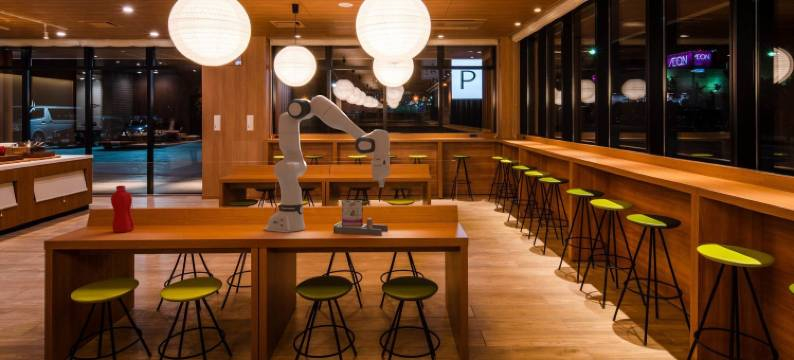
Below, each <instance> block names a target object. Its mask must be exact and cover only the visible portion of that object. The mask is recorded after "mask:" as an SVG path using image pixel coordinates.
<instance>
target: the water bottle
mask: <svg viewBox="0 0 794 360" xmlns="http://www.w3.org/2000/svg"><path fill="white" fill-rule="evenodd" d="M115 189H116V191H114V193H112V194H111V196H110V203H111V204H110V205H111V207H112V209H113V217H112V218H113V219H112V231H113V232H114V233H128V232H132V231H134V229H135V223H134V219H133V217H132V214H131V210H132V209H133V197H132V194H131V193H130V192H129V191H127V190H126V186H125V185H117V186H116V187H115Z"/></svg>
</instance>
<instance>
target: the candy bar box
mask: <svg viewBox="0 0 794 360" xmlns="http://www.w3.org/2000/svg"><path fill="white" fill-rule="evenodd" d="M363 208H364V201H363V200H341V221H342V227H343V226H352V227H362V226H363V224H364V223H363V222H364V221H363V220H364V217H363V216H364V215H363V214H364V211H363V210H364V209H363Z"/></svg>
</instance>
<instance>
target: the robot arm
mask: <svg viewBox="0 0 794 360" xmlns="http://www.w3.org/2000/svg"><path fill="white" fill-rule="evenodd" d="M286 108H287V109H286V112H283V113H281V114H280V115H279V119H278V146H279V149H280V151H281V152H282V155H283V159H280V160H279V161H277V163H276V164H274V167H273V173H274V175H275V176H276V178H277V180H278V183H279V187H280V195H281V199H280V200H281V202H280V204H279V205H277V209H278V211H276V212H275V213H274V214H273V215H271V217H269V218H268V223H267V225H266V226H265V227H263V230H264V231H267V232H268V231H270V232H277V233H279V232H280V233H290V232H300V231H304V230H306V225H305V219H304V204H303V195H302V193H303V191H302V188H301V186H300V184H299V181H298V180H299V179H298V178H300V177H302V176H303V175H304V174H305V173H306V172H307V168H308V166H307V162H306V161H305V159H304V155H303V152H302V148H301V138H300V135H301V134H300V123H301V122H305V121H307V120H309V119H312V118H314V117H315V116H316V117H317V118H318V119H320V120H321V121H322V122H323V123H324V124H325V125H327V126H329V127H330V128H332V129H336V130H341V131H343V132H345V133H346V134H348V135H349V136H351V137H352V139H354V140H355V142H354V148H355V150H356V152H357V153H358V154H360V155H369V154H370V155H372V159H371V161H370V165H371V176H372V177H371V178H372V180H373V181H378V187H379V188H384V186H385V183H386V181H385V180H386V178H389V177H390V175H391V165H390V164H391V152H390V149H391V140H390V134H389V132H388V131H387V130H384V129H378V128H377V129H374V130H373V131H371V132H370V133H367V132H365V131H364V130H363V129H362V128H360V127H359V126H358V125H357V124H356V123H354V122H353V121H352V120H351V119H350V118H349V117H348V116H347V115H346V114H345V113H344V112H343V110H342V109H341V108H340V107H339V106H337V105H336V103H334V102H333V101H332V100H330V99H329V98H327V97H326V96H324V95H323V94H322V95H320V94H319V95H315V96H314V97H313V98H312V99H311V100H310V99H306V98H295V99H293V100H291V101H289V103H288V104H287V106H286Z"/></svg>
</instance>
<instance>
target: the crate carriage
mask: <svg viewBox="0 0 794 360" xmlns="http://www.w3.org/2000/svg"><path fill="white" fill-rule="evenodd" d="M336 227H342V223H341V224H339V225H337V226H336ZM343 227H349V228H367V229H373V217H368V218H366V223H363V226H362V227H352V226H343Z"/></svg>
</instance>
